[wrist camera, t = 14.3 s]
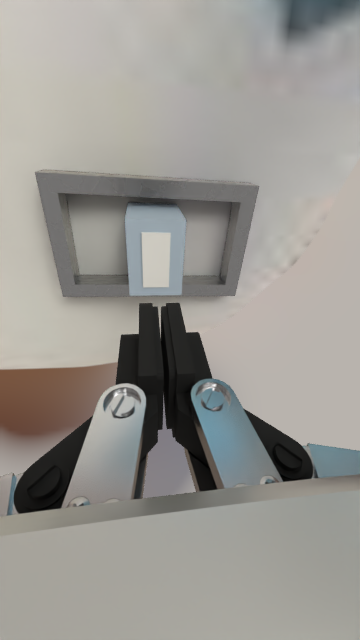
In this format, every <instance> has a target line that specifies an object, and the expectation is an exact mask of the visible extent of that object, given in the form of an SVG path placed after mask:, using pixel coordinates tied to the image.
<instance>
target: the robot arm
mask: <svg viewBox="0 0 360 640" xmlns="http://www.w3.org/2000/svg"><path fill="white" fill-rule="evenodd" d="M163 392H164V403H165V415H166V426H167V429H172V433H173V437H175V439H176V441H177V442H178V443H180V444H181V445H182V446H183V447H184V449H185V455H186V459H187V462H188V466H189V469H190V473H191V476H192V480H193V483H194V486H195V490H196V492H193V493H184V494H176V495H168V496H160V497H152V498H143V491H144V484H145V476H146V468H147V460H148V452H149V451H150V450H151V449H152V448H153V446H154V445H155V444H156V443H157V442H158V436H157V435H158V430H161V429H162V425H163ZM0 640H360V451H356V450H350V449H343V448H336V447H329V446H322V445H315V444H307V446H301V445H300V444H299V443H298V442H296V441H295V440H293V439H292V438H290V437H289V436H287V435H286V434H284V433H282V432H281V431H279V430H277V429H276V428H274V427H273V426H271V425H269V424H268V423H266V422H264V421H263V420H261V419H260V418H258V417H256V416H255V415H253V414H252V413H250V412H248V411H246V410H245V409H243V408H242V406H241V404H240V402H239V400H238V399H237V397H236V395H235V393H234V391H233V390H232V389H231V388H230V386H228V385H227V384H226V383H224V382H222V381H220V380H217V379H212V375H211V372H210V368H209V365H208V362H207V358H206V355H205V352H204V348H203V345H202V341H201V338H200V335H199V333H198V332H190V333H186V330H185V325H184V321H183V317H182V312H181V308H180V304H179V303H166V306H162V307H161V338H160V328H159V317H158V307H153V306H152V303H139V334H129V335H121V340H120V349H119V358H118V368H117V377H116V385H115V386H112V387H111V388H109V389H107V390H106V391H105V392H104V393H103V394H102V395H101V397H100V399H99V401H98V404H97V407H96V409H95V412H94V415H93V416H92V417H91V418H90V419H88V420H87V421H86V422H85V423H83V424H82V425H81V426H80V427H79V428H77V429H76V430H75V431H74V432H72V433H71V434H70V435H68V436H67V437H66V438H65V439H63V440H62V441H61V442H60V443H59V444H57V445H56V446H55V447H54V448H52V449H51V450H50V451H49V452H47V453H46V454H45V455H44V456H42V457H41V458H40V459H39V460H38V461H36V462H35V463H34V464H33V465H31V466H30V467H29V468H28V469H27V470H26V471H25V472H24V473H21V474H18V475H14V473H10V474H7V475H3V476H0Z"/></svg>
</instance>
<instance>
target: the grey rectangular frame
mask: <svg viewBox="0 0 360 640" xmlns="http://www.w3.org/2000/svg"><path fill="white" fill-rule="evenodd" d="M35 174H36V179H37V183H38V188H39V192H40V197H41V201H42V205H43V210H44V214H45V219H46V223H47V227H48V232H49V236H50V241H51V245H52V250H53V254H54V258H55V263H56V267H57V272H58V276H59V281H60V285H61V289H62V294H63V297H93V296H130V292H129V277H128V275H79V269H78V263H77V258H76V252H75V246H74V240H73V235H72V229H71V223H70V217H69V211H68V206H67V200H66V194H65V193H71V194H90V195H109V196H128V197H148V198H167V199H186V200H205V201H224V202H232V208H231V214H230V220H229V226H228V232H227V237H226V243H225V249H224V255H223V261H222V267H221V272H220V276H183V279H182V294H181V295H148V296H235V294H236V289H237V285H238V280H239V275H240V271H241V266H242V262H243V257H244V253H245V248H246V244H247V239H248V234H249V230H250V225H251V221H252V216H253V212H254V207H255V203H256V198H257V194H258V189H259V186H257V185H255V184H252V183H245V182H229V181H214V180H198V179H183V178H167V177H151V176H136V175H120V174H105V173H89V172H74V171H58V170H41V171H37V172H35Z"/></svg>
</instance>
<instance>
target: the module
mask: <svg viewBox="0 0 360 640" xmlns="http://www.w3.org/2000/svg"><path fill="white" fill-rule="evenodd" d="M125 232H126V247H127V262H128V277H129V292H130V296H148V295H181V294H182V279H183V265H184V250H185V235H186V219H185V217H184V216H183V214H182V212H181V211H180V209H179V207H178V206H177V204H160V203H132V202H128V206H127V210H126V215H125Z"/></svg>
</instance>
